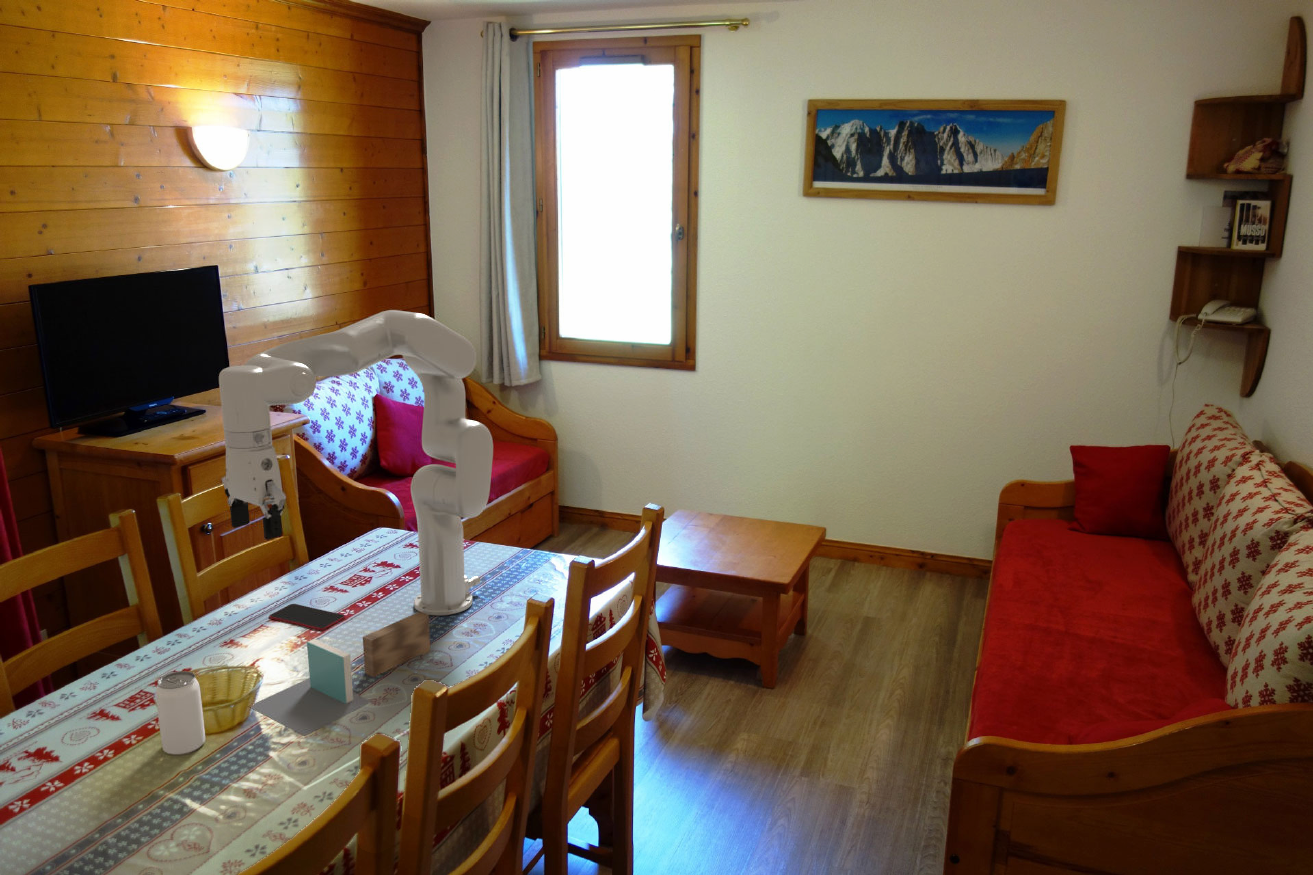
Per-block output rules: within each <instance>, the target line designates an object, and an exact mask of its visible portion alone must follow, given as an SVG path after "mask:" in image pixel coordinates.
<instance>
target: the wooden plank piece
mask: <svg viewBox="0 0 1313 875" xmlns="http://www.w3.org/2000/svg"><path fill="white" fill-rule="evenodd" d="M429 616H430V615H428V614H426V613H423V612H419V611H418V612H416V613H414V614H411V615H408V616H407V617H404V618H402V619H400V620H398V621H395V622H393V623H391V624H388V625H387V626H383V627H381V628H380V629H377V630H375V631H373V632H371V633H369V634H366V635H364V636H362V646H363V648H362V649H363V661H364V662H363V664H364V674H366V675H368V676H371V677H372V678H374V677H375V678H376V677H377V676H379V675H381V674H383V673H386V672H387V671H389V670H391V669H394V668H395V667H397V666H399V665H401V664H404V663H406V662H407V661H410V660H412V659H414V658H415V657H417V656H420V655H422V656H424V655H426V654H428V653H430V652H431V638H430V637H431V636H430V617H429Z"/></svg>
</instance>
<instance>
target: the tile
mask: <svg viewBox="0 0 1313 875" xmlns="http://www.w3.org/2000/svg"><path fill="white" fill-rule="evenodd" d="M306 650H307V651H306V652H307V661H308V674H309V675H308V676H309V678H310V687H312V688H314V689H316V690H318V691H320V692H322V693H324V694H326V695H328V696H330V697H333V698H335V699H337V700H339V701H341V702H343V703H345V704H346V703H348V702H350V701H352V700H353V693H354V692H353V680H352V664H351V654H350V653H348V652H345V651H343V650H341V649H338V648H336V647H334V646H331V645H330V644H328V643H324V642H322V641H320V640H318V639H315V638H314V639H311V640H309V641H306Z"/></svg>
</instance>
